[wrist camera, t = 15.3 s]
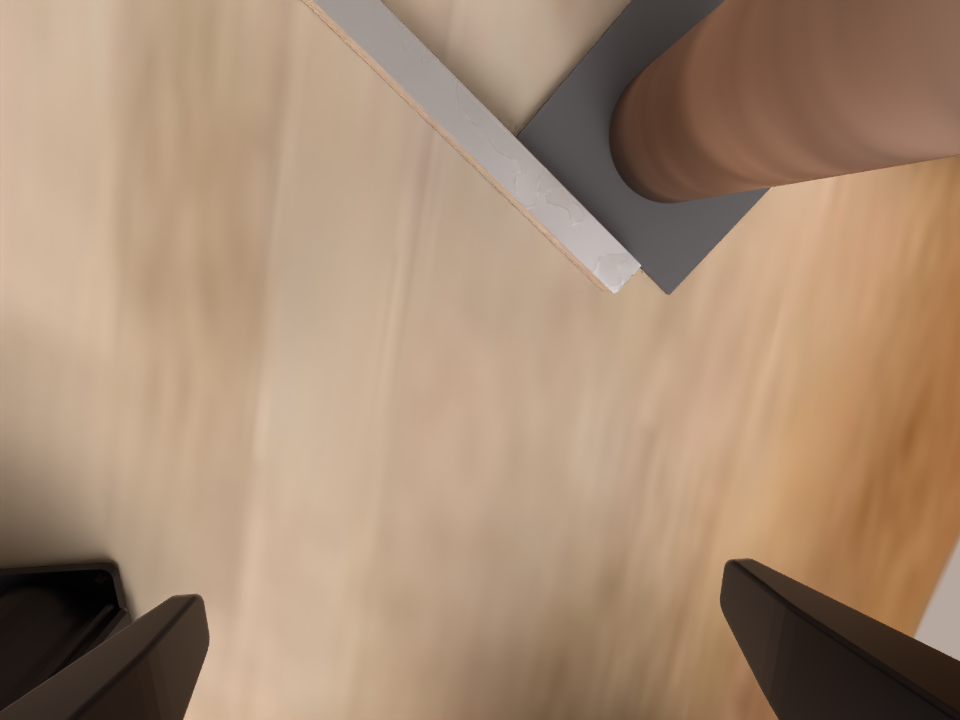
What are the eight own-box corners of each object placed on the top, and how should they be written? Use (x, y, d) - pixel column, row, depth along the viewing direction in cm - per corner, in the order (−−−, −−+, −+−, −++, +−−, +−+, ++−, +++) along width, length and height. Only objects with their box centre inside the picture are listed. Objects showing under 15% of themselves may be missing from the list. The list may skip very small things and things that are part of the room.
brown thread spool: (606, 205, 19) (915, 134, 7) (611, 59, 18) (998, -359, 6) (731, 201, 20) (1246, 129, 7) (745, 59, 18) (1395, -336, 6)
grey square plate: (514, 139, 19) (515, 138, 18) (680, -56, 18) (684, -61, 17) (666, 293, 21) (669, 294, 21) (823, 127, 20) (829, 125, 19)
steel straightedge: (237, -63, 16) (218, -92, 15) (264, -101, 16) (248, -134, 15) (601, 290, 21) (614, 294, 19) (626, 263, 20) (641, 265, 19)
